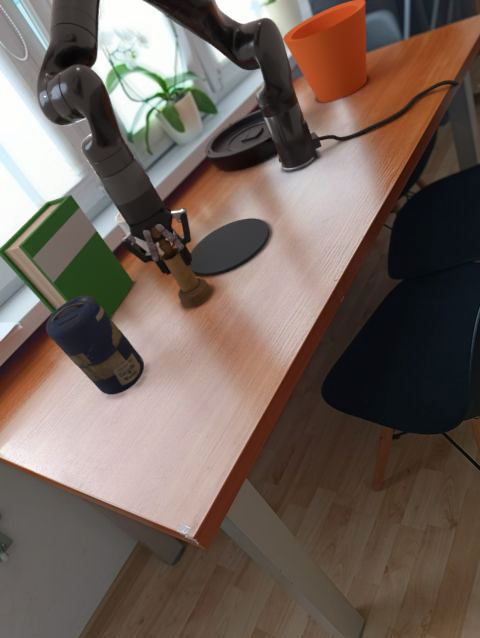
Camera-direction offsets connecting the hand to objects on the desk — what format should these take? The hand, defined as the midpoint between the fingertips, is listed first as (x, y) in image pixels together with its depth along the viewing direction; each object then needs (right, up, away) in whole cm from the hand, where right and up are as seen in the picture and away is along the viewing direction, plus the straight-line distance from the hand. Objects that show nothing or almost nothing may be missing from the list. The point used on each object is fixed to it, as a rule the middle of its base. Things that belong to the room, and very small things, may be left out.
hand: (179, 267), depth 95 cm
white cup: (-10, +9, +28) cm, 31 cm away
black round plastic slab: (+15, +46, +52) cm, 71 cm away
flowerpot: (+42, +67, +59) cm, 99 cm away
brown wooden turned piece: (+3, -5, +5) cm, 8 cm away
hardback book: (-20, -7, +17) cm, 27 cm away
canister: (-9, -22, -5) cm, 24 cm away
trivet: (+9, +7, +15) cm, 18 cm away
